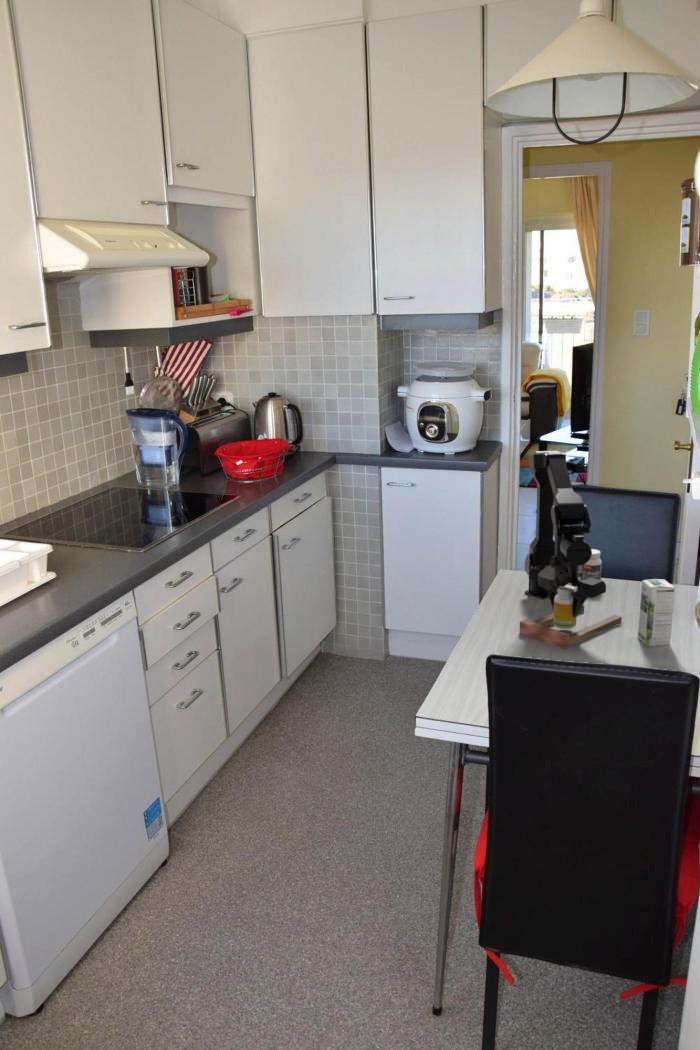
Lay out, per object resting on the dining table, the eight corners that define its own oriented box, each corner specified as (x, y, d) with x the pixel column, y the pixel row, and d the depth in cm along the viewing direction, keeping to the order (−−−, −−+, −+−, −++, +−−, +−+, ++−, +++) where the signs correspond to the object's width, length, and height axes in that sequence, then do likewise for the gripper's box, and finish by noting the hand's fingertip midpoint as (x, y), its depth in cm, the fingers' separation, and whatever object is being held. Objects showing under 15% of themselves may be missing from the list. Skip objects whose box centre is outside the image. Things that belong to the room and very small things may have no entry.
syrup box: (636, 637, 201) (640, 579, 197) (660, 635, 201) (665, 578, 197) (646, 646, 195) (650, 587, 191) (671, 645, 196) (676, 586, 192)
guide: (519, 632, 205) (519, 621, 205) (577, 608, 219) (578, 597, 218) (563, 649, 196) (563, 637, 195) (621, 622, 209) (621, 611, 209)
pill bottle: (580, 588, 234) (582, 554, 231) (578, 581, 239) (579, 548, 236) (601, 588, 233) (603, 554, 230) (598, 581, 238) (600, 548, 235)
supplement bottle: (576, 630, 202) (578, 591, 200) (553, 629, 203) (554, 591, 201) (575, 621, 207) (577, 584, 205) (552, 620, 208) (554, 583, 206)
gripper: (514, 551, 202) (513, 611, 207) (579, 569, 188) (576, 633, 193) (543, 541, 209) (542, 600, 213) (608, 557, 195) (605, 620, 199)
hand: (564, 613), depth 205 cm, fingers closed on supplement bottle, 5 cm apart
